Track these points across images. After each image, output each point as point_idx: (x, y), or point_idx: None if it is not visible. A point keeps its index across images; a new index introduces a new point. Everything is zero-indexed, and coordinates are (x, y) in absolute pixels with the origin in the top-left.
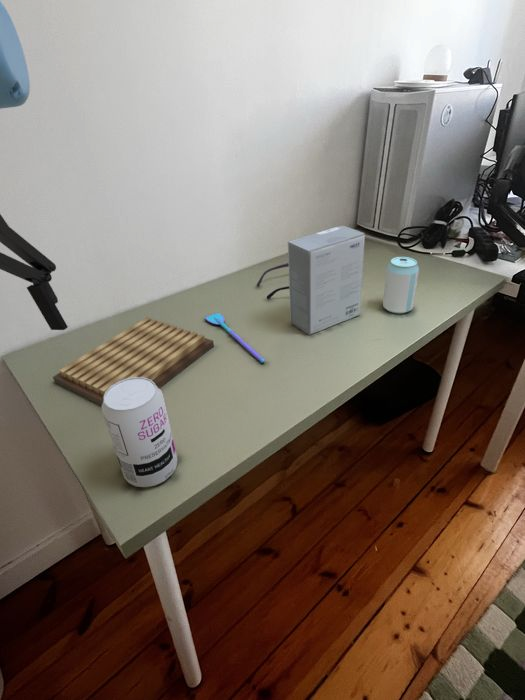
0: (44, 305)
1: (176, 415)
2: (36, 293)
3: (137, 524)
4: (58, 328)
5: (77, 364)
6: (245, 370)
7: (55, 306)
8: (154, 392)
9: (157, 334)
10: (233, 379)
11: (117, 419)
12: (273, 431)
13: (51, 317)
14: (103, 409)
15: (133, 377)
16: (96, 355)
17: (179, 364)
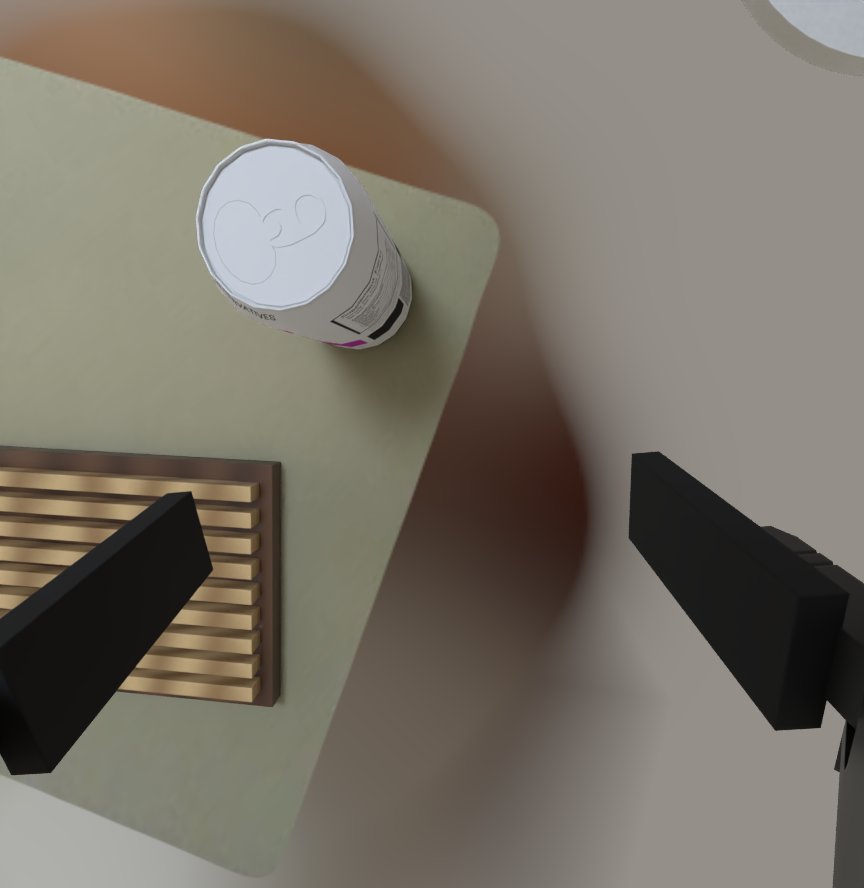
0: (119, 604)
1: (217, 355)
2: (63, 673)
3: (470, 219)
4: (195, 522)
5: (212, 682)
6: (12, 308)
7: (93, 552)
8: (233, 161)
9: (15, 592)
10: (54, 314)
11: (367, 205)
12: (146, 120)
13: (164, 559)
14: (359, 272)
15: (215, 278)
16: (163, 665)
17: (80, 458)
